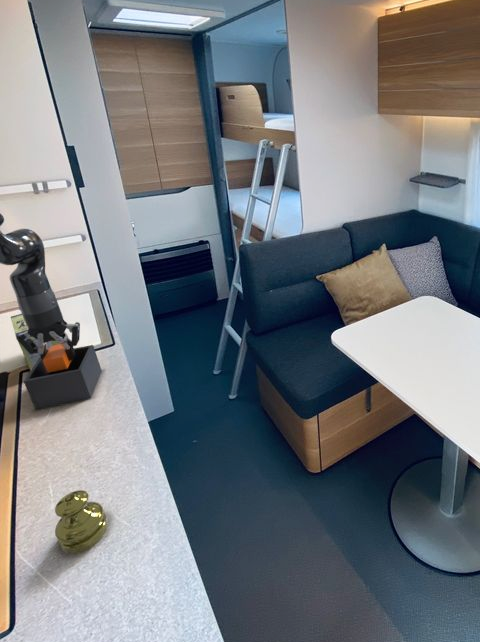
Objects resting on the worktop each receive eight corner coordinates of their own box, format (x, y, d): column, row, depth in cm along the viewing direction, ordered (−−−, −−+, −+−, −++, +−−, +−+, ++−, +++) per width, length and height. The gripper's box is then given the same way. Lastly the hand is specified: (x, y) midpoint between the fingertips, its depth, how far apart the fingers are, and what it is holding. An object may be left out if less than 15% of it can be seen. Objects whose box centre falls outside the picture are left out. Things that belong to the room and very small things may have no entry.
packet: (67, 368, 110) (62, 356, 108) (47, 372, 108) (42, 360, 107) (74, 354, 116) (70, 342, 114) (56, 357, 114) (51, 345, 113)
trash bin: (36, 411, 108) (23, 381, 104) (52, 382, 119) (41, 354, 115) (91, 399, 112) (80, 370, 108) (102, 372, 123) (93, 344, 119)
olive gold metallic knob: (66, 525, 79) (50, 489, 75) (111, 510, 82) (97, 474, 78) (57, 562, 73) (38, 525, 69) (105, 544, 76) (90, 507, 72)
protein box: (66, 345, 136) (51, 304, 130) (76, 365, 126) (60, 321, 120) (27, 358, 130) (9, 316, 124) (34, 381, 119) (15, 336, 113)
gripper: (76, 295, 110) (94, 348, 117) (11, 304, 106) (34, 359, 113) (67, 307, 104) (87, 363, 111) (-2, 318, 99) (23, 375, 106)
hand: (60, 360), depth 111 cm, fingers closed on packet, 4 cm apart
